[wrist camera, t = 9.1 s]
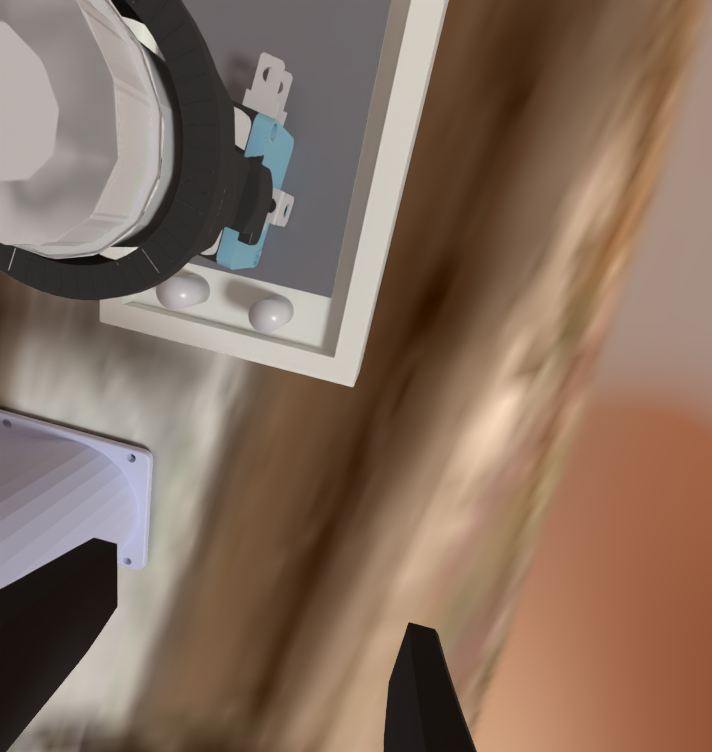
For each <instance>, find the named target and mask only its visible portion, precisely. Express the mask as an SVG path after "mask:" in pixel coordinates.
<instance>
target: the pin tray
mask: <svg viewBox="0 0 712 752" xmlns="http://www.w3.org/2000/svg"><path fill="white" fill-rule="evenodd" d="M448 1H449V0H182V2H183V3H184V5H185V6H186V8H187V10H188V11H189V13H190V14H191V16H192V17H193V19H194V21H195V22H196V24H197V26H198V28H199V30H200V32H201V34H202V36H203V38H204V40H205V41H206V44H207V46H208V49H209V51H210V53H211V56H212V58H213V61H214V63H215V66H216V69H217V71H218V73H219V76H220V78H221V80H222V82H223V84H224V86H225V88H226V90H227V92H228V94H229V96H230V98H231V100H233V101H235V102H237V103H240V104H243V100H244V96H245V92H246V89H249V90H251V89H252V85H253V81H254V78H255V74H256V70H257V66H258V63H259V59H260V55H261V54H262V53H264V52H265V53H267V54H269V55H271V56H274V57H276V58H278V59H280V60H282V61H283V62H284V64H285V69H284V71H286V72H288V73H291V75H292V78H293V79H292V83H291V86H290V90H289V93H288V96H287V100H286V103H285V106H284V110H283V111H284V112H286V113H287V115H286V119H285V122H284V125H283V128H284V129H285V130H286V131H287V132H288V133H289V134H290V135H291V136H292V137H293V139H294V146H293V150H292V154H291V157H290V160H289V163H288V166H287V170H286V173H285V176H284V179H283V182H282V186H281V189H280V190H281V191H283V192H285V193H287V194H289V195H291V196H293V197H294V203H293V206H292V209H291V212H290V215H289V218H288V221H287V224H286V225H285V227H283V226H278V225H273V224H271V223H270V224H269V227H268V230H267V234H266V237H265V240H264V243H263V246H262V252H261V256H260V259H259V261H258V264H257V265H256V266H255V267H254V268H242V269H234V270H232V269H230V268H227V267H225V266H223V265H220V264H218V263H215V262H213V261H211V260H208V259H206V258H204V257H201V256H199V255H197V256H195V257H193V258H192V259H191V260H190V261H189V262H188V263H187V264H186V265H185V266H184V267H183V268H182V269H181V270H180V271H178V272H177V273H176V274H174V275H173V276H172V277H170V278H169V279H168V280H166V281H164V282H162V283H161V284H159V285H157V286H155V287H153V288H150V289H148V290H146V291H143V292H140V293H136V294H132V295H129V296H123V297H117V298H110V299H103V300H100V322H102V323H106V324H110V325H114V326H118V327H122V328H126V329H129V330H133V331H137V332H141V333H145V334H149V335H153V336H156V337H160V338H164V339H168V340H172V341H176V342H180V343H184V344H187V345H191V346H195V347H199V348H203V349H207V350H211V351H215V352H218V353H222V354H226V355H230V356H234V357H238V358H242V359H246V360H249V361H253V362H257V363H261V364H265V365H269V366H273V367H277V368H280V369H284V370H288V371H292V372H296V373H300V374H304V375H308V376H311V377H315V378H319V379H323V380H327V381H331V382H335V383H339V384H342V385H346V386H350V387H353V386H354V384H355V382H356V379H357V377H358V374H359V372H360V368H361V364H362V360H363V355H364V351H365V347H366V343H367V339H368V335H369V330H370V326H371V322H372V318H373V314H374V310H375V305H376V301H377V297H378V293H379V289H380V284H381V280H382V276H383V272H384V268H385V264H386V259H387V255H388V251H389V247H390V243H391V239H392V234H393V230H394V226H395V222H396V218H397V214H398V209H399V205H400V201H401V197H402V193H403V189H404V184H405V180H406V176H407V172H408V168H409V164H410V159H411V155H412V151H413V147H414V143H415V139H416V134H417V130H418V126H419V122H420V118H421V114H422V109H423V105H424V101H425V97H426V93H427V89H428V84H429V80H430V76H431V72H432V68H433V63H434V59H435V55H436V51H437V47H438V43H439V38H440V34H441V30H442V26H443V22H444V18H445V13H446V9H447V5H448ZM122 18H123V19H124V21H125V22H126V24H127V25H128V26H129V28H130V29H131V31H132V32H133V34H134V35H135V37H136V38H137V39H138V40H139V41H140V42H141V43H142V44H144V45H145V46H146V47H148V48H149V49H150V50H152V51H153V52H154V53H155V54H157V55H158V56H159V57H161V58H162V59H163V60H164V61H165V59H164V57H163V55H162V53H161V51H160V49H159V47H158V46H157V44H156V42H155V40H154V38H153V36H152V35H151V33H150V32H149V30H148V29H147V27H146V26H145V25H144V24H142V23H140V22H137V21H135V20H133V19H129V18H125V17H122ZM269 69H270V68H267V69H265V70H264V72H263V79H264V81H265V82H266V80H267V76H268V73H269ZM282 90H283V83H282V82H281V83H280V86H279V90H278V93H277V94H279V93H281V92H282ZM286 211H287V206H286V208H285V211H284V215H285V214H286ZM137 248H138V247H109V248H107V249H106V250H104V251H103V252H101V253H100V255H103V256H105V257H108V258H111V259H115V260H116V259H119V258H121V257H123V256H126V255H127V254H129V253H131V252H132V251H134V250H136V249H137Z"/></svg>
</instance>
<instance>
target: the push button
mask: <svg viewBox="0 0 712 752" xmlns="http://www.w3.org/2000/svg"><path fill="white" fill-rule="evenodd" d="M122 17H125V18H129V19H133V20H135V21H137V22H140V23H142V24H144V25H145V26H146V27H147V29H148V30H149V32H150V33H151V35H152V36H153V38H154V40H155V42H156V44H157V46H158V47H159V49H160V51H161V53H162V55H163V57H164V59H165V61H164V60H163V59H162V58H161V57H159V56H158V55H157V54H155V53H154V52H153V51H152V50H150V49H149V48H148V47H146V46H145V45H144V44H142V43H141V42H140V41H139V40H138V39H137V38H136V37H135V35H134V34H133V32H132V31H131V29H130V28H129V26H128V25H127V24H126V22H125V21H124V19H123V18H122ZM267 68H270V69H269V73H268V76H267V80H266V82H265V81H264V79H263V72H264V70H265V69H267ZM284 69H285V64H284V62H283V61H282V60H280V59H278V58H276V57H274V56H271V55H269V54H267V53H265V52H264V53H262V54H261V55H260V59H259V63H258V66H257V70H256V74H255V78H254V81H253V85H252V89H251V90H249V89H246V92H245V96H244V100H243V104H240V103H237V102H235V101H233V100H231V98H230V96H229V94H228V92H227V90H226V88H225V86H224V84H223V82H222V80H221V78H220V76H219V73H218V71H217V69H216V66H215V63H214V61H213V58H212V56H211V53H210V51H209V49H208V46H207V44H206V41H205V40H204V38H203V36H202V34H201V32H200V30H199V28H198V26H197V24H196V22H195V21H194V19H193V17H192V16H191V14H190V13H189V11H188V10H187V8H186V6H185V5H184V3H183V2H182V0H0V270H2V271H3V272H5V273H6V274H8V275H9V276H11V277H13V278H15V279H17V280H19V281H20V282H22V283H24V284H26V285H29V286H31V287H33V288H36V289H38V290H40V291H43V292H47V293H50V294H53V295H56V296H61V297H66V298H71V299H81V300H103V299H110V298H117V297H123V296H129V295H132V294H136V293H140V292H143V291H146V290H148V289H150V288H153V287H155V286H157V285H159V284H161V283H162V282H164V281H166V280H168V279H169V278H170V277H172V276H173V275H174V274H176V273H177V272H178V271H180V270H181V269H182V268H183V267H184V266H185V265H186V264H187V263H188V262H189V261H190V260H191V259H192V258H193V257H195V256H197V255H199V256H201V257H204V258H206V259H208V260H211V261H213V262H215V263H218V264H220V265H223V266H225V267H227V268H230V269H232V270H234V269H242V268H254V267H255V266H256V265H257V264H258V261H259V259H260V256H261V252H262V246H263V243H264V240H265V237H266V234H267V230H268V227H269V224H270V223H271V224H273V225H278V226H283V227H285V225H286V224H287V221H288V218H289V215H290V212H291V209H292V206H293V203H294V197H293V196H291V195H289V194H287V193H285V192H283V191H281V190H280V189H281V186H282V182H283V179H284V176H285V173H286V170H287V166H288V163H289V160H290V157H291V154H292V150H293V146H294V139H293V137H292V136H291V135H290V134H289V133H288V132H287V131H286V130H285V129H284V128H283V125H284V122H285V119H286V115H287V113H286V112H284V111H283V110H284V106H285V103H286V100H287V96H288V93H289V90H290V86H291V83H292V79H293V78H292V75H291V73H288V72H286V71H284ZM281 82H282V83H283V90H282V92H281V93H279V94H277V93H278V90H279V86H280V83H281ZM286 206H287V211H286V214H285V215H284V211H285V208H286ZM109 247H138V248H137V249H136V250H134V251H132V252H131V253H129V254H127V255H126V256H123V257H121V258H119V259H116V260H115V259H111V258H108V257H105V256H103V255H100V254H98V253H101V252H103V251H104V250H106V249H107V248H109Z"/></svg>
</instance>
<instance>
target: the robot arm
mask: <svg viewBox="0 0 712 752" xmlns="http://www.w3.org/2000/svg"><path fill="white" fill-rule="evenodd" d="M132 454H133V455H134V456H135V458H134V457H133V456H132ZM152 471H153V456H152V454H151V453H150V452H149V451H148V450H146V449H143V448H139V447H135V446H132V445H128V444H125V443H121V442H117V441H114V440H110V439H106V438H103V437H99V436H95V435H92V434H88V433H84V432H81V431H77V430H74V429H70V428H66V427H63V426H59V425H55V424H52V423H48V422H44V421H41V420H37V419H33V418H30V417H26V416H23V415H19V414H15V413H12V412H8V411H4V410H1V409H0V752H6V751H7V750H8V749H9V747H10V746H11V745H12V744H13V743H14V741H15V740H16V739H17V738H18V736H19V735H20V734H21V733H22V732H23V730H24V729H25V728H26V727H27V725H28V724H29V723H30V722H31V721H32V719H33V718H34V717H35V716H36V714H37V713H38V712H39V711H40V710H41V708H42V707H43V706H44V705H45V703H46V702H47V701H48V700H49V699H50V697H51V696H52V695H53V694H54V692H55V691H56V690H57V689H58V688H59V686H60V685H61V684H62V683H63V681H64V680H65V679H66V678H67V676H68V675H69V674H70V673H71V671H72V670H73V669H74V668H75V666H76V665H77V664H78V663H79V661H80V660H81V659H82V658H83V656H84V655H85V654H86V653H87V651H88V650H89V648H90V647H91V645H92V644H93V642H94V641H95V640H96V638H97V637H98V635H99V634H100V632H101V631H102V629H103V628H104V626H105V625H106V623H107V622H108V620H109V618H110V617H111V615H112V614H113V612H114V611H115V609H116V608H117V564H118V565H121V566H125V567H128V568H132V569H135V570H140V569H142V568H143V567H144V566H145V565H146V563H147V556H148V539H149V522H150V505H151V488H152ZM384 752H477V751H476V749H475V746H474V743H473V740H472V738H471V735H470V732H469V730H468V727H467V724H466V721H465V719H464V716H463V713H462V710H461V707H460V704H459V701H458V698H457V695H456V692H455V689H454V686H453V683H452V680H451V677H450V674H449V671H448V667H447V664H446V661H445V657H444V654H443V650H442V647H441V643H440V640H439V636H438V633H437V632H436V630H435V629H432V628H428V627H425V626H421V625H417V624H413V623H410V622H409V623H408V626H407V629H406V632H405V635H404V638H403V641H402V644H401V647H400V650H399V653H398V656H397V659H396V662H395V665H394V668H393V671H392V674H391V677H390V680H389V687H388V698H387V708H386V720H385V732H384Z"/></svg>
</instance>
